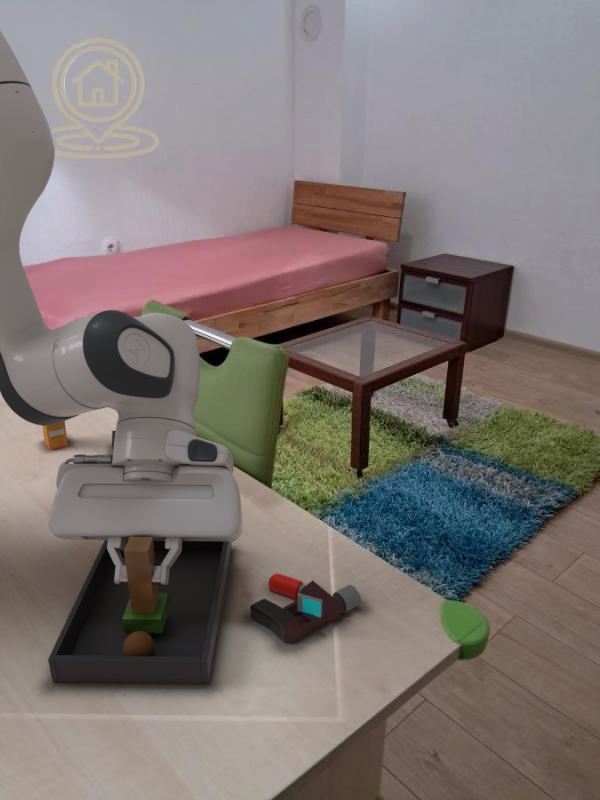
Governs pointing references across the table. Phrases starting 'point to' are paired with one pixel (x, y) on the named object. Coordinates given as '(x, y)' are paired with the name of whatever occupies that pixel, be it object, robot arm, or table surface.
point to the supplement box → (55, 435)
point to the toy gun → (302, 608)
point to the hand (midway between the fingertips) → (141, 584)
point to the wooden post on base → (143, 589)
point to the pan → (173, 649)
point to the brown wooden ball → (138, 644)
